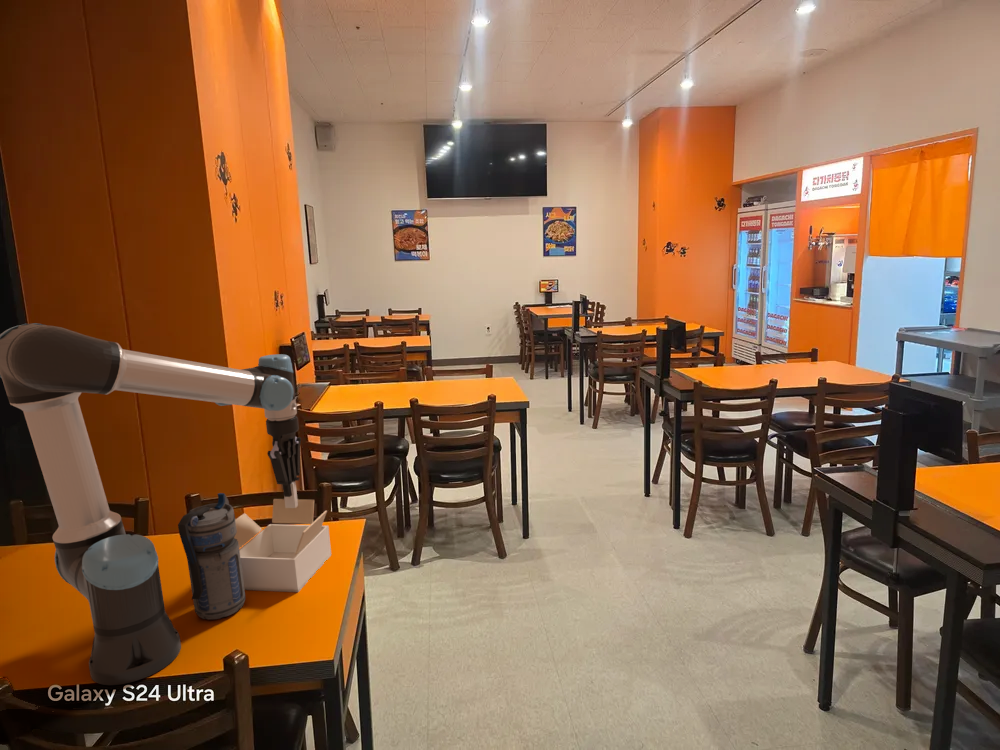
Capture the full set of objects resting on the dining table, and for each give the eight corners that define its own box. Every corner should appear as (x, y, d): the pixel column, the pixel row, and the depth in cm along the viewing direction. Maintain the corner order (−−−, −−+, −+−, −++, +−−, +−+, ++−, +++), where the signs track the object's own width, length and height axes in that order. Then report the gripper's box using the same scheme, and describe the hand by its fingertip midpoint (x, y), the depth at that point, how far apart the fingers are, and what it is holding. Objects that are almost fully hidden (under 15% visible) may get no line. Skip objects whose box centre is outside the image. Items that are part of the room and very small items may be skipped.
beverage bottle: (176, 626, 129) (158, 513, 125) (220, 593, 142) (206, 490, 137) (216, 632, 127) (200, 517, 122) (258, 597, 139) (244, 492, 135)
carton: (298, 592, 141) (292, 539, 138) (217, 588, 144) (210, 536, 142) (331, 555, 158) (326, 507, 156) (259, 552, 162) (253, 505, 159)
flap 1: (313, 499, 158) (314, 499, 158) (273, 499, 159) (274, 499, 160) (312, 524, 157) (313, 523, 157) (272, 522, 158) (272, 522, 159)
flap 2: (294, 553, 141) (296, 554, 141) (302, 531, 139) (304, 532, 139) (318, 530, 152) (319, 531, 152) (325, 510, 151) (327, 511, 151)
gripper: (282, 423, 146) (293, 517, 151) (307, 410, 159) (317, 497, 163) (253, 424, 147) (264, 516, 152) (280, 410, 160) (290, 496, 164)
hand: (291, 506), depth 157 cm, fingers closed
